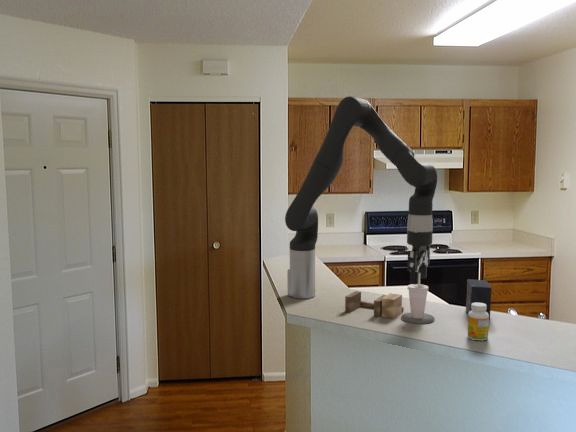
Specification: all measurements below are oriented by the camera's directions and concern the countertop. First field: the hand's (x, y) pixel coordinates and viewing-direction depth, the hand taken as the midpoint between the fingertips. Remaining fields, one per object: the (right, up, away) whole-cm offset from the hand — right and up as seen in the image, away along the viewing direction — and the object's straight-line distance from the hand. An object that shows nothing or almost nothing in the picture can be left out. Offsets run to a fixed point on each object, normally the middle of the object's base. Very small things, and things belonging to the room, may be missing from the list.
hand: (418, 281), depth 166 cm
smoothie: (0, -12, +1) cm, 12 cm away
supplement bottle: (+12, -14, -17) cm, 25 cm away
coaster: (0, -12, +1) cm, 12 cm away
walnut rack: (-13, -11, +9) cm, 19 cm away
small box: (+20, -12, +5) cm, 24 cm away
